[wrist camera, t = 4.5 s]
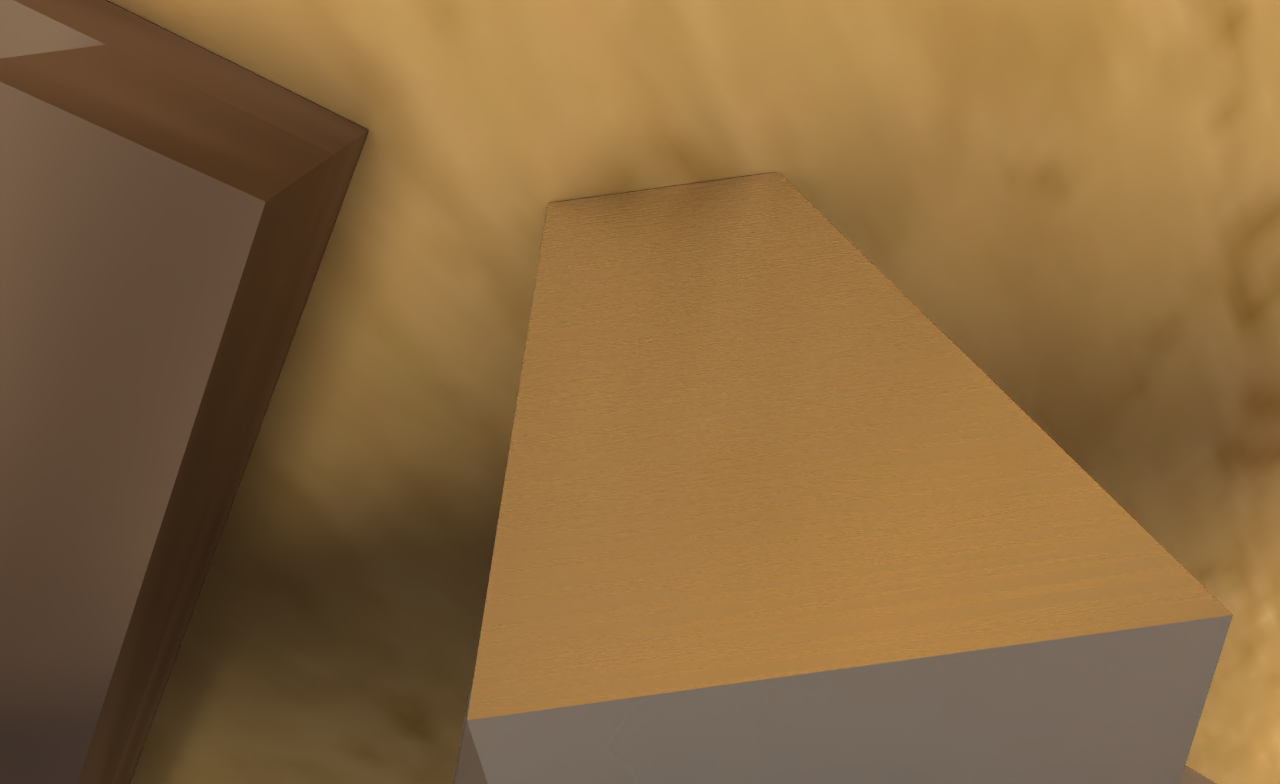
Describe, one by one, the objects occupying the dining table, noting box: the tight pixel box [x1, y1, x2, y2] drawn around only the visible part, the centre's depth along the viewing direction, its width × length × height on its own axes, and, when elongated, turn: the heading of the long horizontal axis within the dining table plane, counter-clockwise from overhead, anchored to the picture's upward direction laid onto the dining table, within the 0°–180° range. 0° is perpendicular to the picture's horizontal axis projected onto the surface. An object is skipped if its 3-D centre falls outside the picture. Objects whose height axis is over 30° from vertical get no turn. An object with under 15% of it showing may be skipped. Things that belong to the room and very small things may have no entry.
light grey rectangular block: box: [467, 172, 1232, 784], centre depth 9 cm, size 3×10×8 cm, turn 7°
